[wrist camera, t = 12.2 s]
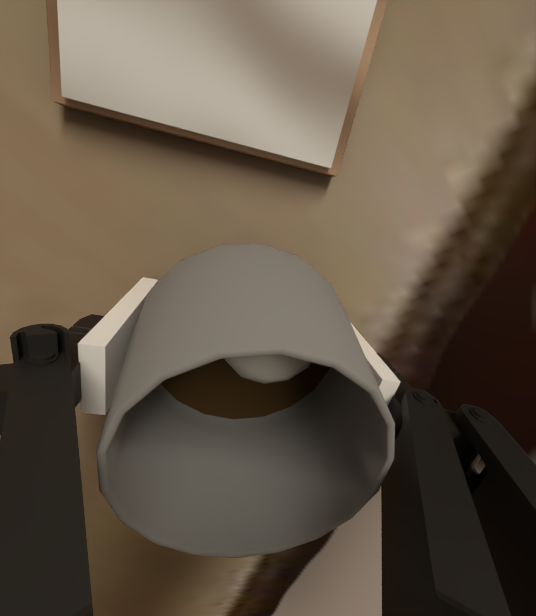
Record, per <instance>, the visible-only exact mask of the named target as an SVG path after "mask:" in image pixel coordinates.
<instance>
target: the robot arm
mask: <svg viewBox="0 0 536 616" xmlns="http://www.w3.org/2000/svg"><path fill="white" fill-rule="evenodd" d="M157 283H158V280H156V279H149V278H142V279H141V280H140V281H139V282H138V283H137V284H136V285H135V286H134V287H133V288H132V289H131V290H130V291H129V292H128V293H127V294H126V295H125V296H124V297H123V298H122V299H121V300H120V301H119V302H118V303H117V304H116V305H115V306H114V307H113V308H112V309H111V310H110V311H109V312H108V313H107V314H106V315H105V316H100V315H93V314H92V315H89V316H87V317H84V318H82V319H80V320H79V321H77V322H76V323H75V324H74V325H73V327H71V328H69V329H68V330H67V328H65V327H63V326H61V325H55V324H37V325H30V326H27V327H23V328H20V329H19V330H17V331H15V332H13V334H12V335H11V336H10V341H11V348H12V354H13V361H14V363H12V364H3V365H0V435H1V439H0V616H93V608H92V597H91V586H90V574H89V563H88V552H87V540H86V529H85V517H84V506H83V495H82V483H81V472H80V460H79V449H78V438H77V426H76V415H75V407H76V406H77V404H78V403H79V402H80V403H81V413H86V414H100V415H106V413H107V411H108V409H109V408H110V404H111V401H112V398H113V394H114V391H115V388H116V384H117V381H118V378H119V374H120V371H121V368H122V365H123V361H124V358H125V355H126V351H127V348H128V345H129V341H130V338H131V335H132V331H133V328H134V325H135V323H136V321H137V318H138V316H139V314H140V312H141V309H142V307H143V305H144V303H145V300H146V298H147V296H148V293H149V291H150V290H151V288H152V287H153V286H155V285H156V284H157ZM351 325H352V324H351ZM352 327H353V330H354V332H355V334H356V337H357V339H358V341H359V343H360V346H361V348H362V350H363V352H364V355H365V357H366V359H367V361H368V364H369V366H370V368H371V370H372V373H373V375H374V377H375V379H376V382H377V384H378V386H379V388H380V391H381V393H382V395H383V397H384V400H385V402H386V404H387V407H388V409H389V411H390V413H391V416H392V418H393V420H394V422H395V448H394V460H393V462H392V464H391V466H390V468H389V470H388V472H387V475H386V477H385V479H384V481H383V483H382V485H381V490H382V492H381V493H382V494H381V495H382V498H381V499H382V616H536V465H535V463H534V462H533V461H532V460H531V459H530V458H529V456H527V454H526V453H525V452H524V451H523V450H522V448H521V447H520V446H519V445H518V444H517V443H516V441H515V440H514V439H513V438H512V437H511V436H510V435H509V433H508V432H507V431H506V430H505V429H504V428H503V427H502V426H501V424H500V423H499V422H498V421H497V420H496V419H495V418H494V417H493V416H491V415H490V414H488V412H486V411H485V410H482V409H481V408H479V407H475V406H472V405H467V404H465V405H462V406H461V408H460V409H459V411H458V412H457V413H455V412H452V411H448V410H446V409H442V406H441V404H440V403H439V401H438V400H437V399H436V398H434V397H433V396H432V395H430V394H429V393H427V392H425V391H423V390H420V389H416V388H411V386H410V385H409V384H408V383H407V382H406V381H405V380H404V379H403V377H402V376H401V375H400V374H399V373H397V371H396V369H395V368H394V367H392V365H391V364H390V363H389V361H388V360H387V359H385V358H384V357H383V356H381V355H380V354H379V353H376V352H375V351H374V350H373V349H372V347H371V346H370V345H369V344H368V343H367V342H366V340H365V339H364V338H363V337H362V336H361V335H360V333H359V332H358V331H357V330H356V329H355V327H354V326H353V325H352ZM480 458H482V460H483V461H484V463H485V465H486V466H485V468H484V469H483V471H482V472H481V473H480V474H478V472H477V471H476V469H475V468H474V467H475V465H476V464H477V462H478V461H479V460H480Z"/></svg>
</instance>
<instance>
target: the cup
mask: <svg viewBox="0 0 536 616" xmlns="http://www.w3.org/2000/svg"><path fill="white" fill-rule="evenodd" d="M394 448H395V422H394V420H393V418H392V416H391V413H390V411H389V409H388V407H387V404H386V402H385V400H384V397H383V395H382V393H381V391H380V388H379V386H378V384H377V382H376V379H375V377H374V375H373V373H372V370H371V368H370V366H369V364H368V361H367V359H366V357H365V355H364V352H363V350H362V348H361V346H360V343H359V341H358V339H357V337H356V334H355V332H354V330H353V327H352V325H351V323H350V321H349V318H348V316H347V314H346V312H345V310H344V308H343V306H342V304H341V302H340V300H339V298H338V296H337V294H336V293H335V291H334V289H333V287H332V285H331V283H330V282H329V281H328V280H327V279H325V278H324V277H323V276H322V275H321V274H320V273H318V272H317V271H316V270H315V269H314V268H312V267H311V266H310V265H309V264H308V263H307V262H305V261H304V260H303V259H302V258H300V257H299V256H296V255H293V254H290V253H287V252H284V251H281V250H278V249H275V248H273V247H270V246H267V245H264V244H233V245H219V246H216V247H214V248H211V249H209V250H206V251H204V252H201V253H199V254H196V255H193V256H191V257H188V258H186V259H183V260H182V261H180V262H179V263H178V264H177V265H176V266H175V267H174V268H173V269H172V270H171V271H170V272H168V273H167V274H166V275H165V276H164V277H163V278H162V279H161V280H160V281H159V282H158V283H157V284H156V285H155V286H153V287H152V288H151V290H150V291H149V293H148V296H147V298H146V300H145V303H144V305H143V307H142V309H141V312H140V314H139V316H138V318H137V321H136V323H135V325H134V328H133V331H132V335H131V338H130V341H129V345H128V348H127V351H126V355H125V358H124V361H123V365H122V368H121V371H120V374H119V378H118V381H117V384H116V388H115V391H114V394H113V398H112V401H111V404H110V408H109V411H108V414H107V418H106V421H105V424H104V428H103V431H102V434H101V437H100V441H99V444H98V447H97V451H96V455H97V466H98V477H99V489H100V492H101V493H102V494H103V496H104V497H105V499H106V500H107V502H108V503H109V505H110V506H111V508H112V509H113V511H114V512H115V514H116V515H117V516H118V518H119V519H120V521H121V522H122V523H124V524H125V525H127V526H128V527H130V528H131V529H133V530H134V531H136V532H138V533H139V534H141V535H142V536H144V537H145V538H147V539H148V540H150V541H151V542H153V543H154V544H157V545H161V546H164V547H167V548H171V549H174V550H178V551H181V552H184V553H188V554H191V555H195V556H211V557H228V558H240V557H248V556H255V555H262V554H269V553H276V552H281V551H283V550H286V549H289V548H292V547H295V546H298V545H301V544H304V543H307V542H310V541H312V540H315V539H318V538H320V537H321V536H323V535H325V534H326V533H328V532H330V531H331V530H333V529H335V528H336V527H338V526H340V525H341V524H343V523H345V522H346V521H348V520H350V519H351V518H352V517H353V516H354V515H355V514H356V513H357V512H358V511H359V510H360V509H361V508H362V507H363V506H364V505H365V504H366V503H367V502H368V501H369V500H370V499H371V498H372V497H373V496H374V495H375V494H376V493H377V492H378V491H379V489H380V487H381V485H382V483H383V481H384V479H385V477H386V475H387V472H388V470H389V468H390V466H391V464H392V462H393V460H394Z"/></svg>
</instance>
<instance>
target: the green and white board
mask: <svg viewBox="0 0 536 616" xmlns="http://www.w3.org/2000/svg"><path fill="white" fill-rule="evenodd" d="M387 1H388V0H46V8H47V24H48V41H49V57H50V73H51V90H52V101H53V102H56V103H58V104H60V105H62V106H65V107H68V108H72V109H76V110H80V111H84V112H87V113H91V114H95V115H99V116H103V117H107V118H110V119H114V120H118V121H122V122H126V123H129V124H133V125H137V126H141V127H145V128H148V129H152V130H156V131H160V132H164V133H168V134H171V135H175V136H179V137H183V138H187V139H190V140H194V141H198V142H202V143H206V144H210V145H213V146H217V147H221V148H225V149H229V150H232V151H236V152H240V153H244V154H248V155H252V156H255V157H259V158H263V159H267V160H271V161H274V162H278V163H282V164H286V165H290V166H294V167H297V168H301V169H305V170H309V171H313V172H316V173H320V174H324V175H328V176H332V177H333V176H338V173H339V169H340V166H341V162H342V159H343V155H344V152H345V148H346V145H347V141H348V138H349V134H350V131H351V127H352V124H353V120H354V117H355V113H356V110H357V106H358V103H359V99H360V96H361V92H362V89H363V85H364V82H365V78H366V75H367V71H368V68H369V64H370V61H371V57H372V54H373V50H374V47H375V43H376V40H377V36H378V33H379V29H380V26H381V22H382V19H383V15H384V12H385V8H386V5H387Z"/></svg>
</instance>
